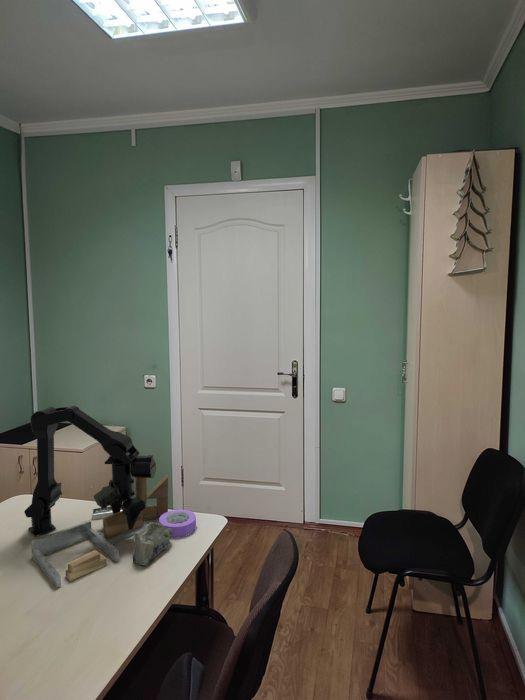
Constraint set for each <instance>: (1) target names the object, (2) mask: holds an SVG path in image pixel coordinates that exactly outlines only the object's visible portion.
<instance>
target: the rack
mask: <svg viewBox="0 0 525 700" xmlns="http://www.w3.org/2000/svg"><path fill="white" fill-rule="evenodd" d="M87 539H89V540H91V542H93V544H95V545H96V546H97V547H99V549H100V550H101V551H103V553H105V554H106V555H107V556H108V557H110V559H112V560H113V561H114V562H115V563H117V562H119V561H120V552H119V551H120V550H119V549H117V548H116V547H115V546H114V544H110V543H109V542H108V541H107V540H105V539H104V538H103V537H102V536H101V535H100V534H99V532H98V531H96V530H95V529H94V528H92V522H91V520H87V521H84V522H81V523H78V524H76V525H73V526H70V527H67V528H65V529H61V530H58V531H56V532H54V533H50V534H48V535H45V536H41V537H40V538H36V539H33V540H31V542H30V543H31V546H30V547H31V557H32V558H31V559H33V561H35V563H36V564H37V565H38V566H39V568H40V569H41V570H42V571H43V573H44V574H45V576H47V578H48V579H49V580H50V582H51V583H52V584H54V585H55V587H56V588H60V587H61V586H62V579H61V573H59V572H58V571H57V570H56V568H55V567H54V566H53V565H52V563H50V561H49V560H48V559H47V558H46V557H45V555H48V554H50V553H53V552H56V551H59V550H61V549H63V548H66V547H68V546H71V545H74V544H77V543H80V542H82V541H85V540H87Z"/></svg>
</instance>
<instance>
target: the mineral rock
mask: <svg viewBox="0 0 525 700" xmlns="http://www.w3.org/2000/svg"><path fill="white" fill-rule="evenodd" d="M146 525H147V526H145V527H144V528H142V529H141V530H139V531H137V532H136V533H135V535H133V539H134V544H133V545H134V550H133V551H132V556H133V557H132V560H133V562H136V564H137V565H139V566H146V565H148V564H149V563H150V561H152V560H153V559H154V558H155V557H156V556H157V555H159V554H160V553H161V552H162V551H163V550H165V549H166V548H167V547H168V546H169V544H170V542H171V535H172V529H170V528H169V529H167V528H166V527H165V526H164V525H162V524H160V523H159V522H152V521H149V522H148V524H146Z"/></svg>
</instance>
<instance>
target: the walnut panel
mask: <svg viewBox="0 0 525 700" xmlns="http://www.w3.org/2000/svg"><path fill="white" fill-rule="evenodd" d="M122 512H123V511H120V512H117V513H115V514H112V515H109V516H106V517H103V519H102V528H103V529H102V530H103V531H102V532H103V534H104V537H105V538H106V539H108V540H109V539H111V538H114V537H116V536H119V535H121V534H124V533H126V532H129V531H131V530H134V529H136V528H139V527H141V526H143V523H144V520H143V511H141V512H140V514H139V516H138V518H137V520H136V522H135V525H134V527H133V529H131V530H129V528H128V523H127V517H126V515H125V514H124V513H122Z"/></svg>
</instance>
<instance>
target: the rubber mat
mask: <svg viewBox="0 0 525 700" xmlns="http://www.w3.org/2000/svg"><path fill="white" fill-rule="evenodd" d="M147 525H148V524H145V523H144V522H143V526H141V527H139V528H136V529H134V530H131V531H129V532H126V533H124V534H121V535H119V536H116V537H114V538H111V539H109V540H108V539H106V538H105V537H104V534H103V531H102V532H98V534H100V535H101V536H102V537H103V538H104V539H105V540H107V541H108V542H109V543H110V544H111V545H114V544H116V543H119V542H120V541H121V542H122V541H123V540H126V539H128V538H131V537H134V535H135V533H136V532H137V531H139V530H141V529H142V528H144V527H145V526H147Z"/></svg>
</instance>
